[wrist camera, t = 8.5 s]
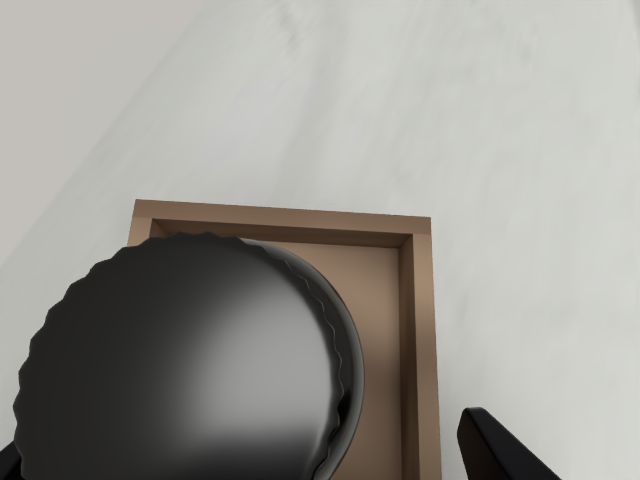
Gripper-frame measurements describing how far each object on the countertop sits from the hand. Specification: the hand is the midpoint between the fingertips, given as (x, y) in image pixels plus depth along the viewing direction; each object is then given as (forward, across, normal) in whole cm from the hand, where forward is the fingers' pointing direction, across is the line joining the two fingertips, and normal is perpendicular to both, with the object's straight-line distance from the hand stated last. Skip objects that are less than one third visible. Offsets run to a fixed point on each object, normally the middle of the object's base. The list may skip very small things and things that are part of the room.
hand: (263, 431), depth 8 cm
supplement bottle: (+7, +1, +5) cm, 9 cm away
